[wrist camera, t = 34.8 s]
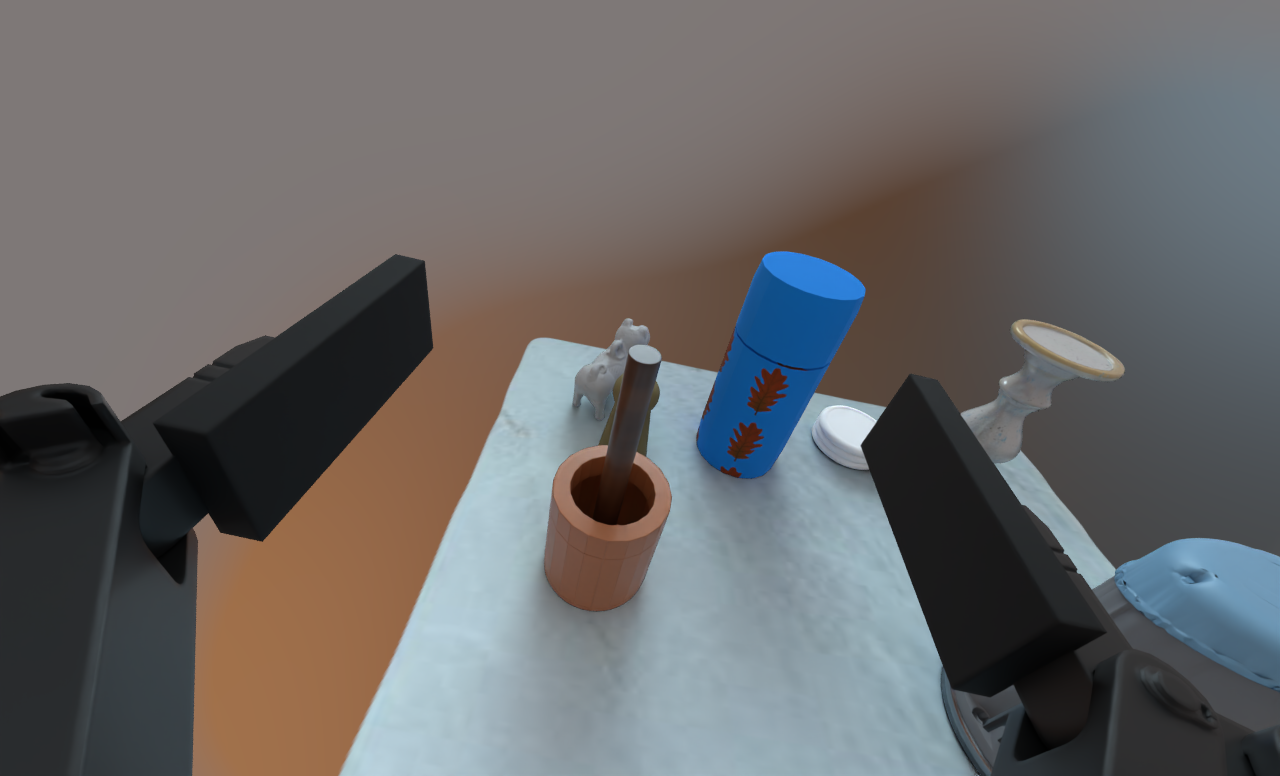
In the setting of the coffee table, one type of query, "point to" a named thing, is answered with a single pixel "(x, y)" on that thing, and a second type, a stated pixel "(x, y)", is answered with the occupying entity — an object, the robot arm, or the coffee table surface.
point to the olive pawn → (644, 435)
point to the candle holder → (1036, 383)
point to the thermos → (776, 360)
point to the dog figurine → (608, 367)
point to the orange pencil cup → (602, 531)
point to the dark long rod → (626, 430)
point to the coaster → (843, 435)
